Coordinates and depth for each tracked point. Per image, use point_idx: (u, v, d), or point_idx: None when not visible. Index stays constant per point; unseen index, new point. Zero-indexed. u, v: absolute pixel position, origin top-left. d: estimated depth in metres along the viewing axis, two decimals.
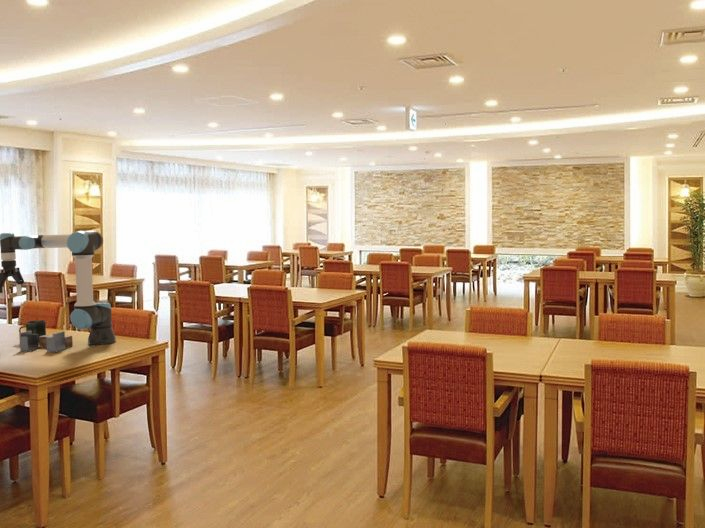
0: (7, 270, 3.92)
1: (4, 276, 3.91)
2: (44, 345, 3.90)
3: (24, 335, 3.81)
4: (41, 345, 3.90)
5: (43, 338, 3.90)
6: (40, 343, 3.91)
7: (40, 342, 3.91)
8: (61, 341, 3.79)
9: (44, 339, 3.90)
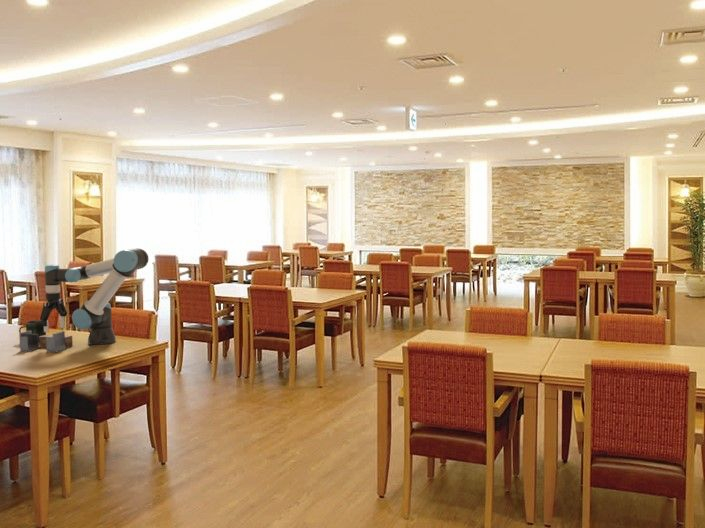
0: (51, 303, 3.86)
1: (48, 309, 3.85)
2: (44, 345, 3.90)
3: (24, 335, 3.81)
4: (41, 345, 3.90)
5: (43, 338, 3.90)
6: (40, 343, 3.91)
7: (40, 342, 3.91)
8: (61, 341, 3.79)
9: (44, 339, 3.90)
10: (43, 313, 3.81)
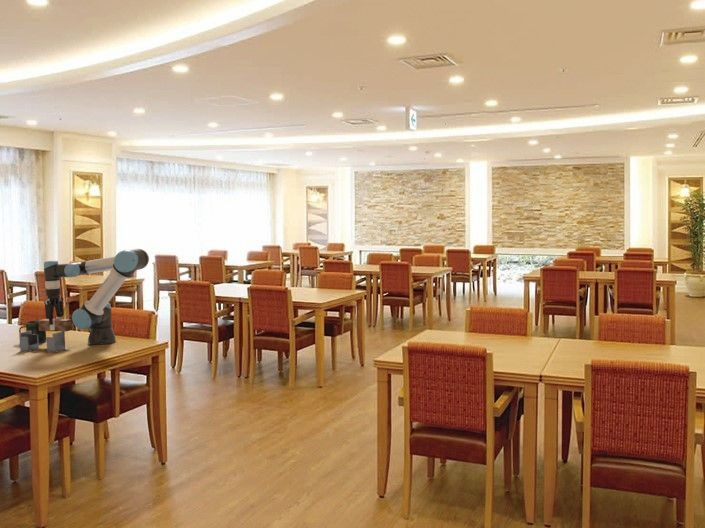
0: (52, 298, 3.86)
1: (51, 306, 3.86)
2: (43, 329, 3.89)
3: (24, 335, 3.81)
4: (40, 329, 3.90)
5: (42, 322, 3.89)
6: (39, 327, 3.90)
7: (39, 326, 3.90)
8: (61, 341, 3.79)
9: (43, 323, 3.89)
10: (47, 312, 3.83)
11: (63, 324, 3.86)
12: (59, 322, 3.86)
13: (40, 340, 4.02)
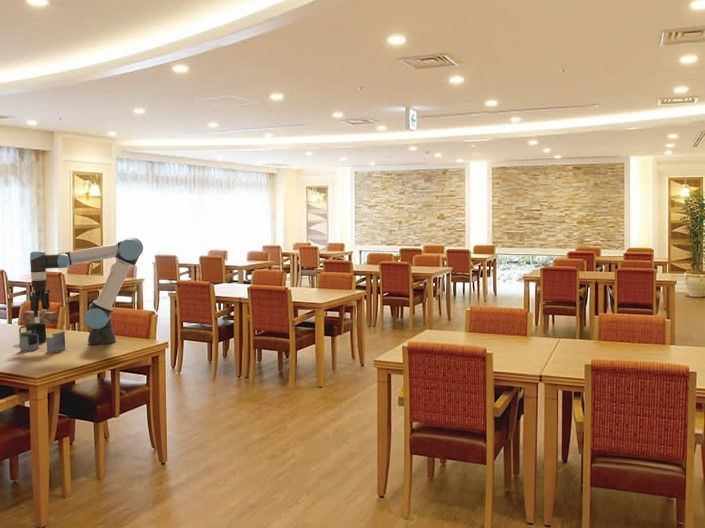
0: (37, 290, 3.75)
1: (36, 298, 3.75)
2: (28, 321, 3.78)
3: (24, 335, 3.81)
4: (25, 321, 3.79)
5: (27, 314, 3.78)
6: (23, 319, 3.79)
7: (24, 318, 3.79)
8: (61, 341, 3.79)
9: (28, 315, 3.78)
10: (32, 304, 3.72)
11: (48, 317, 3.75)
12: (44, 314, 3.75)
13: (40, 340, 4.02)
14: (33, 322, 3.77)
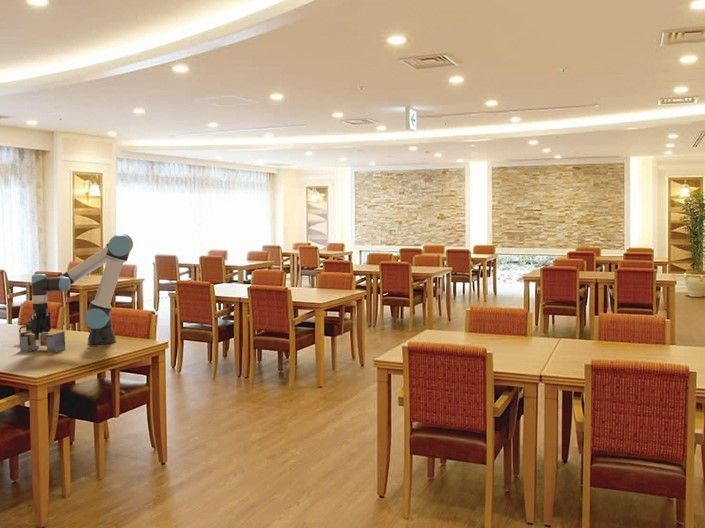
0: (38, 313, 3.76)
1: (37, 321, 3.76)
2: (29, 343, 3.79)
3: None
4: None
5: (28, 336, 3.79)
6: None
7: None
8: (61, 341, 3.79)
9: (29, 337, 3.79)
10: (33, 327, 3.73)
11: None
12: (45, 336, 3.76)
13: None
14: (34, 344, 3.78)
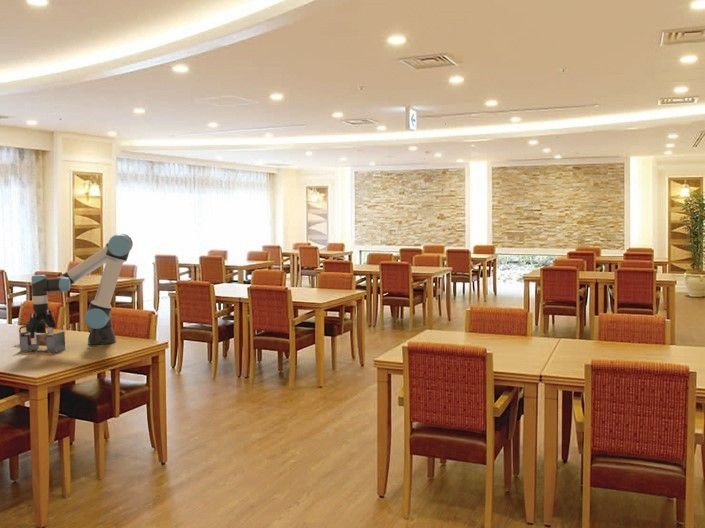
0: (39, 314, 3.76)
1: (36, 320, 3.75)
2: (29, 343, 3.79)
3: None
4: None
5: (28, 336, 3.79)
6: None
7: None
8: (61, 341, 3.79)
9: (29, 337, 3.79)
10: (30, 325, 3.71)
11: None
12: (45, 336, 3.76)
13: None
14: (34, 344, 3.78)
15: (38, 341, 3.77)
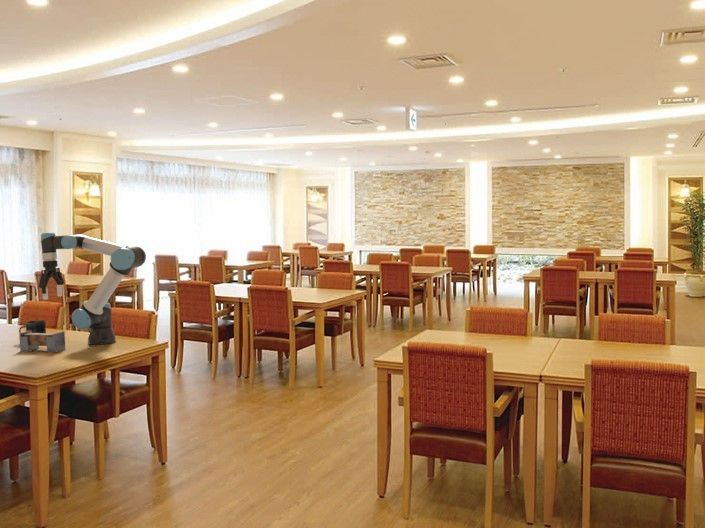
0: (49, 270, 3.85)
1: (47, 276, 3.84)
2: (29, 343, 3.79)
3: None
4: None
5: (28, 336, 3.79)
6: None
7: None
8: (61, 341, 3.79)
9: (29, 337, 3.79)
10: (42, 280, 3.80)
11: None
12: (45, 336, 3.76)
13: None
14: (34, 344, 3.78)
15: (38, 341, 3.77)
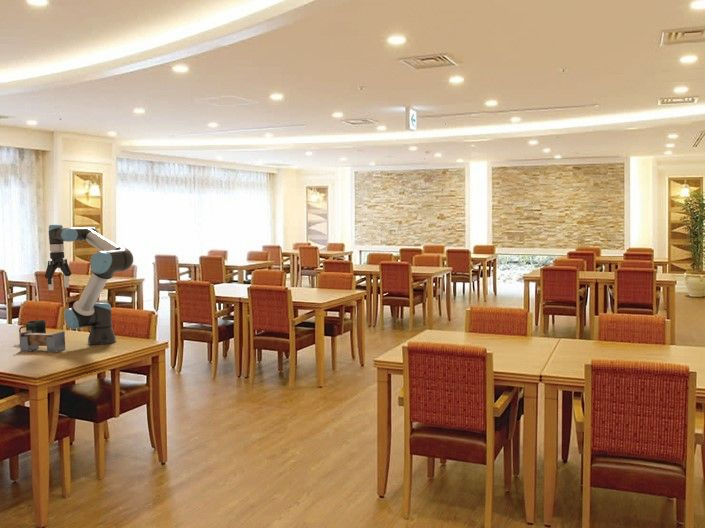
0: (56, 261, 3.93)
1: (53, 267, 3.92)
2: (29, 343, 3.79)
3: None
4: None
5: (28, 336, 3.79)
6: None
7: None
8: (61, 341, 3.79)
9: (29, 337, 3.79)
10: (48, 271, 3.87)
11: None
12: (45, 336, 3.76)
13: None
14: (34, 344, 3.78)
15: (38, 341, 3.77)
